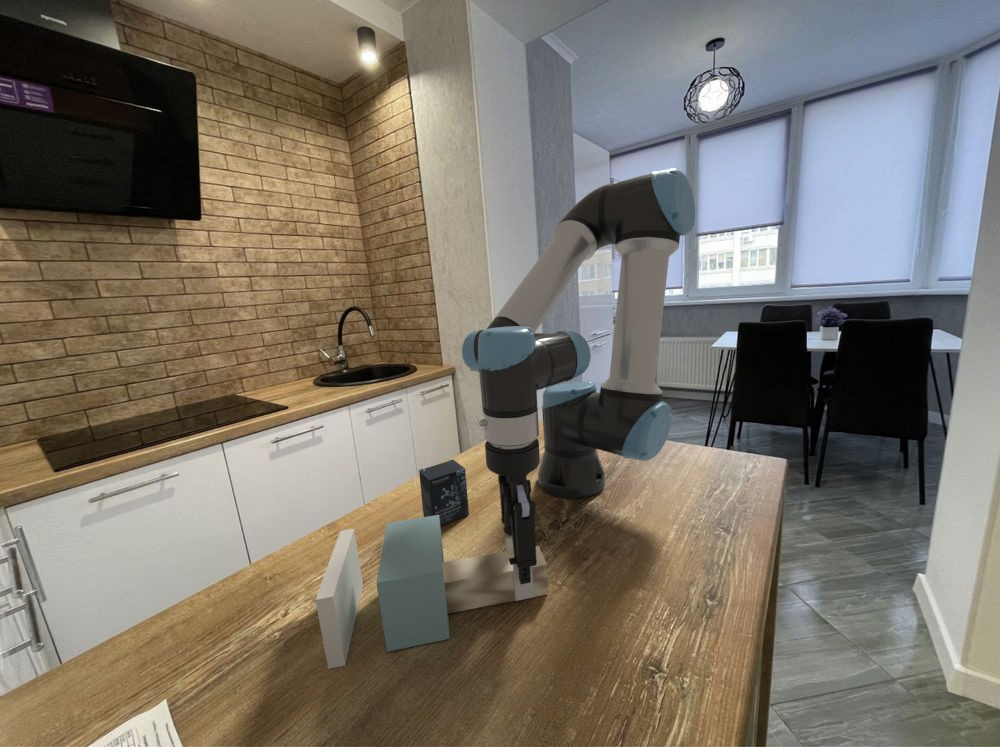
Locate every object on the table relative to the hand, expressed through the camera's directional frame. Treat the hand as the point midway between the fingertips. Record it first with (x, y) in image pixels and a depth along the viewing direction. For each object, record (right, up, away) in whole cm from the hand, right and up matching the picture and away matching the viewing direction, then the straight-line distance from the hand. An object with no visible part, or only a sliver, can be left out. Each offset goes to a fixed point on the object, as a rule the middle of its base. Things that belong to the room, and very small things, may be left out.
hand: (520, 584), depth 59 cm
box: (-14, +2, +21) cm, 25 cm away
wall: (-25, -3, -4) cm, 25 cm away
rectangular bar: (-4, -1, -1) cm, 4 cm away
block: (-15, -2, -2) cm, 15 cm away
